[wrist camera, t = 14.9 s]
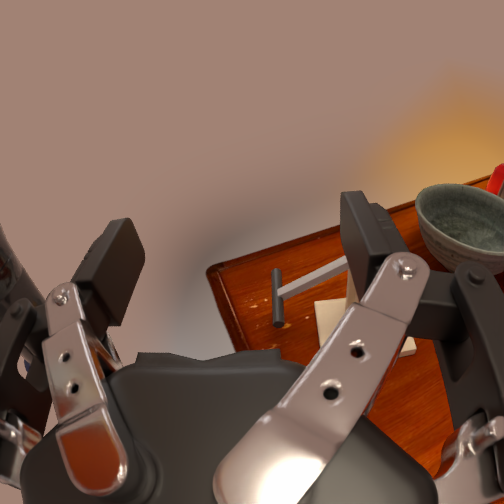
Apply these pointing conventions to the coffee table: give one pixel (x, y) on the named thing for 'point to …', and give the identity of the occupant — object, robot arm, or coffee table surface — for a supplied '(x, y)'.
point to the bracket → (335, 309)
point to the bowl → (462, 225)
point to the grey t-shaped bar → (300, 286)
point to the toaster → (497, 182)
